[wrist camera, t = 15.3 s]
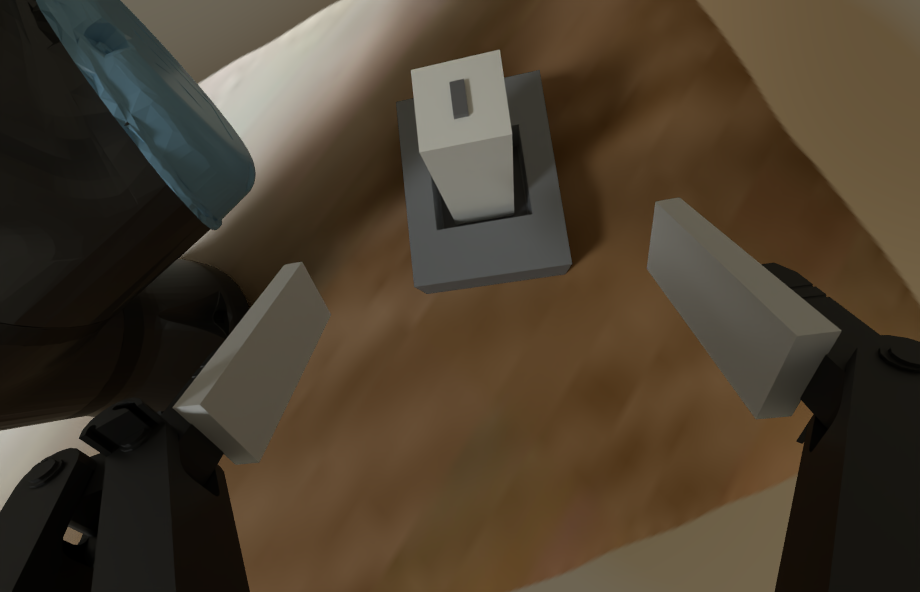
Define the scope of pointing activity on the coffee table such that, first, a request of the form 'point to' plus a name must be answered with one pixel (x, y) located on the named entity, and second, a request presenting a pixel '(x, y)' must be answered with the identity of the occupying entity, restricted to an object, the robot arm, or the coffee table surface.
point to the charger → (466, 135)
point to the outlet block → (494, 240)
